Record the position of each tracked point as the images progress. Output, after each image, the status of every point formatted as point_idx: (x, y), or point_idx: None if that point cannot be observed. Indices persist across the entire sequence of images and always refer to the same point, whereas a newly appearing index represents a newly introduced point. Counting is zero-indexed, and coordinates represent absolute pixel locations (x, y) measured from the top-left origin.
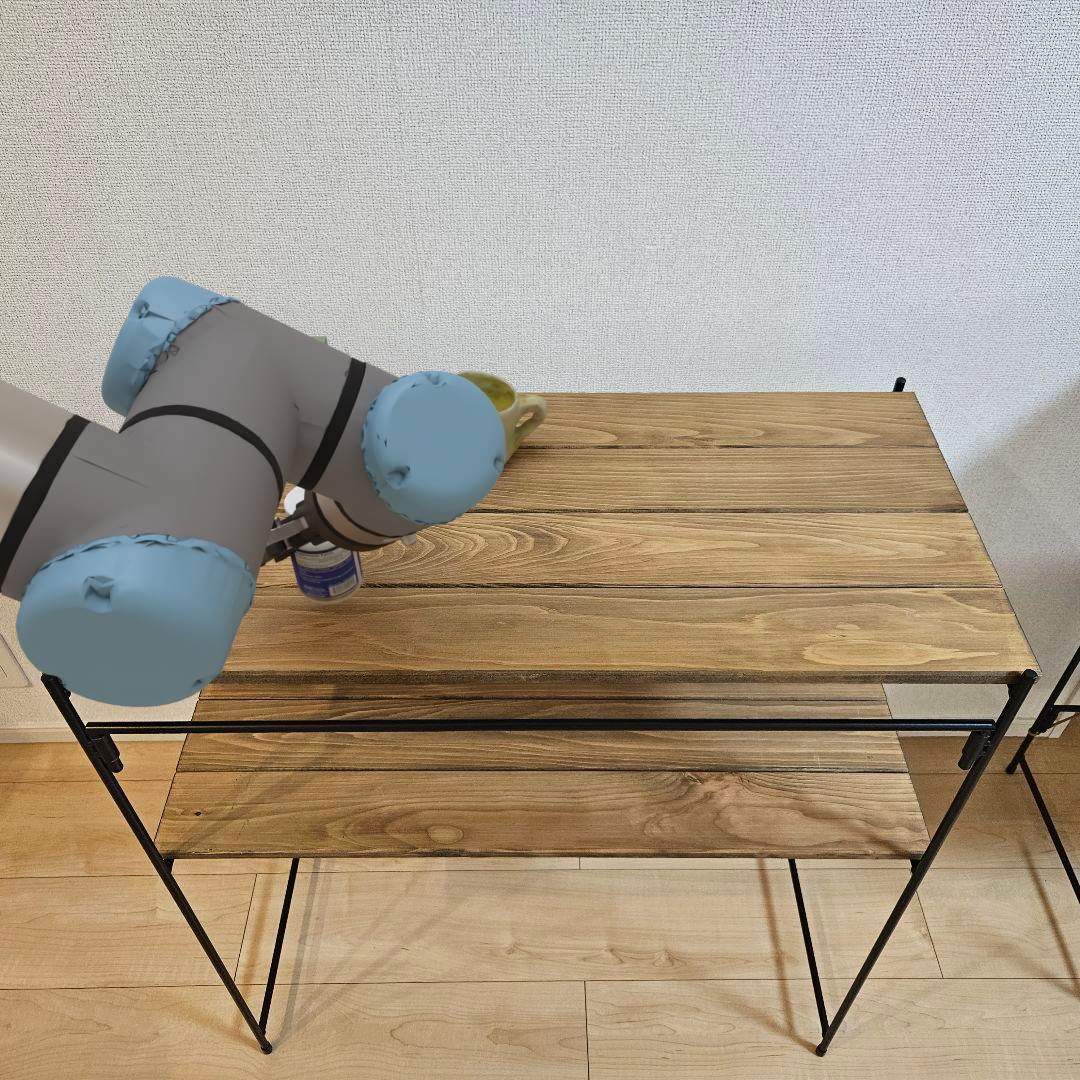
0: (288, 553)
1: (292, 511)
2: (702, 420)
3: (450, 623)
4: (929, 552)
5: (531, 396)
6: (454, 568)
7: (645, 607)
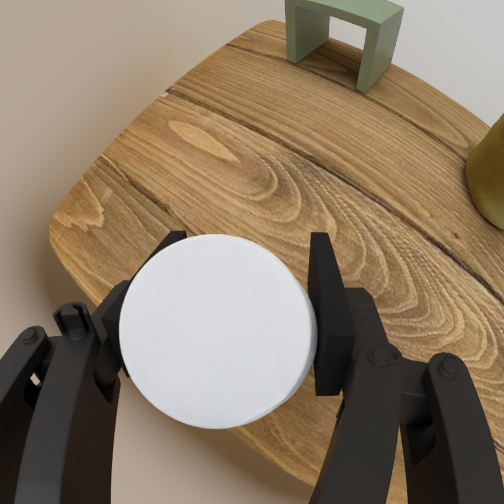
0: (128, 374)
1: (127, 340)
2: None
3: None
4: None
5: None
6: (417, 353)
7: None
